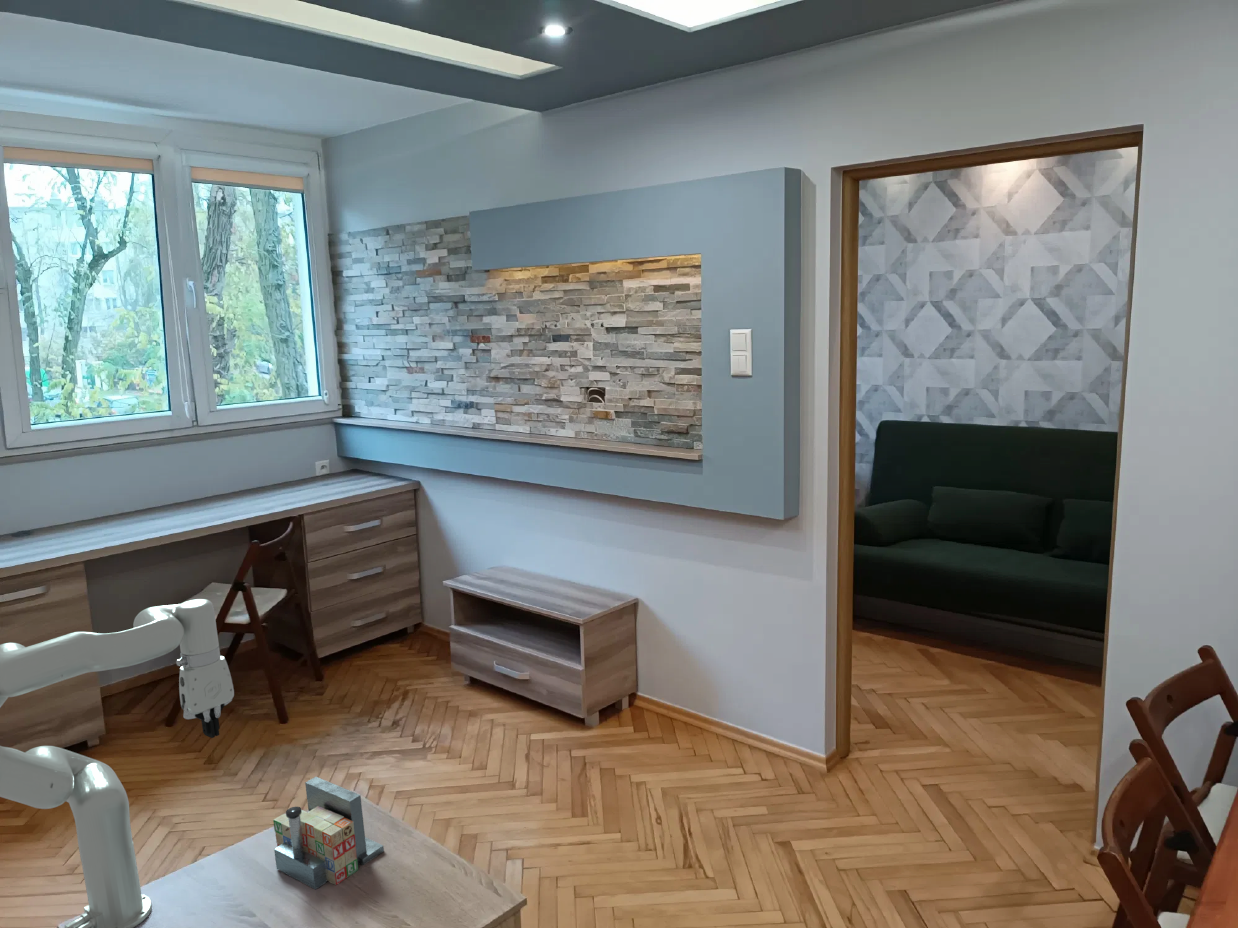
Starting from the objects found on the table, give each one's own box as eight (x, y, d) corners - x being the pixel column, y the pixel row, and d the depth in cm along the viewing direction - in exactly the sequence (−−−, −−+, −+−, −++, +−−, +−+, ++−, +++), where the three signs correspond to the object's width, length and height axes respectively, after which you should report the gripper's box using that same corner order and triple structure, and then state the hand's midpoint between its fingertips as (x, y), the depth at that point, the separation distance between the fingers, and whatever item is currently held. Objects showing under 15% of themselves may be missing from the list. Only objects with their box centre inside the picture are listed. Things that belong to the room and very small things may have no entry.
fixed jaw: (357, 868, 199) (350, 803, 196) (308, 844, 209) (300, 782, 206) (384, 851, 205) (377, 787, 202) (334, 828, 215) (327, 767, 212)
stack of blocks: (277, 855, 206) (271, 807, 204) (300, 841, 211) (294, 794, 209) (336, 885, 194) (330, 834, 192) (359, 870, 199) (353, 820, 197)
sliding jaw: (315, 889, 192) (307, 823, 189) (276, 868, 200) (268, 805, 197) (328, 880, 195) (321, 815, 192) (290, 860, 203) (282, 797, 200)
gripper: (177, 672, 184) (188, 754, 187) (242, 647, 196) (252, 725, 199) (158, 665, 188) (169, 745, 191) (223, 642, 200) (233, 717, 203)
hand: (212, 734), depth 195 cm, fingers closed
